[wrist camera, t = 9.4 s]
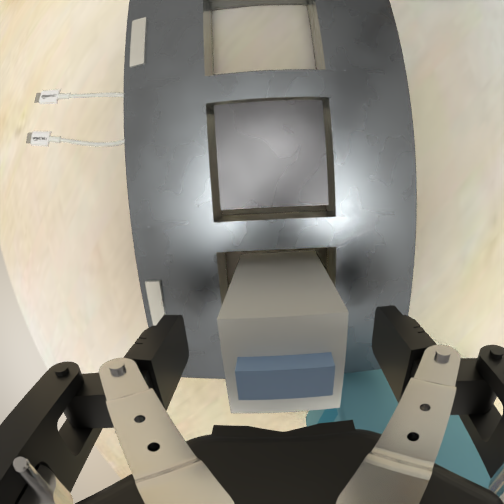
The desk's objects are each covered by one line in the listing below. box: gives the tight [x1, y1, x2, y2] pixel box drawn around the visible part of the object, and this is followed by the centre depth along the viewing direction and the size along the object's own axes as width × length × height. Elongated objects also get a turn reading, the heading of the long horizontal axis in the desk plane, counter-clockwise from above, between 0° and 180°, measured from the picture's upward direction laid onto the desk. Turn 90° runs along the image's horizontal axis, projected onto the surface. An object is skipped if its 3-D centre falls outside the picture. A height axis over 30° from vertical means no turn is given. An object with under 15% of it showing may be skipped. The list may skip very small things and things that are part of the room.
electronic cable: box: [26, 89, 125, 147], centre depth 15 cm, size 4×10×1 cm, turn 78°
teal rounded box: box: [306, 369, 491, 489], centre depth 13 cm, size 12×4×12 cm, turn 76°
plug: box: [217, 250, 349, 413], centre depth 13 cm, size 4×4×9 cm
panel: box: [124, 0, 416, 379], centre depth 13 cm, size 23×14×5 cm, turn 4°
